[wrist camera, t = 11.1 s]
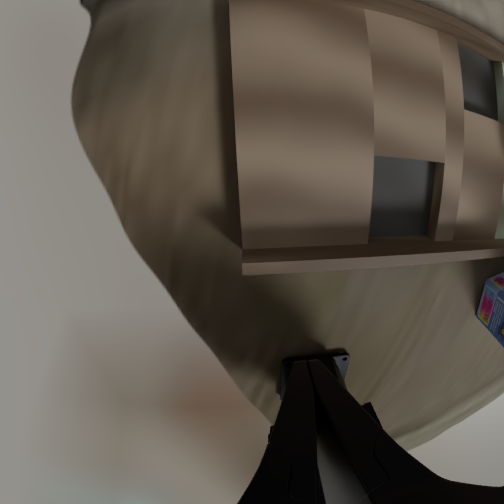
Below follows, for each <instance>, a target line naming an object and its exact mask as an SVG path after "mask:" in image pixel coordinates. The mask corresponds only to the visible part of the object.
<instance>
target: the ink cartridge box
mask: <svg viewBox="0 0 504 504" xmlns="http://www.w3.org/2000/svg"><path fill="white" fill-rule="evenodd" d="M476 317H477V318H478V319H479V320H480V322H481V323H482V324H483V325H484V326H485V327H486V328H487V329H488V330H489V331H490V332H491V334H492V335H493V336H494V337H495V338H496V339H497V340H498V342H499V343H500V344H501V345H502V346H503V347H504V272H502V273H500V274H497V275H495V276H492V277H490V278H488V279H487V280H486V281H485V284H484V289H483V293H482V297H481V300H480V304H479V308H478V311H477V314H476Z"/></svg>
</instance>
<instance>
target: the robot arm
mask: <svg viewBox="0 0 504 504" xmlns="http://www.w3.org/2000/svg"><path fill="white" fill-rule="evenodd" d="M344 357H345V358H344ZM349 360H350V356H349V354H348V353H347V352H344V353H336V354H328V355H318V356H308V357H296V358H285V359H283V360H282V362H281V389H280V399H281V400H282V402H281V405H280V409H279V412H278V415H277V418H276V421H275V424H274V426H271V427H270V434H269V436H268V444H267V447H266V450H265V453H264V455H263V458H262V460H261V463H260V465H259V467H258V469H257V471H256V473H255V475H254V477H253V479H252V480H251V482H250V484H249V485H248V487H247V489H246V490H245V492H244V494H243V495H242V497H241V498H240V500H239V502H238V503H237V504H504V486H502V487H491V486H482V485H473V484H466V483H460V482H455V481H450V480H447V479H444V478H442V477H440V476H438V475H436V474H435V473H433V472H432V471H431V470H429V469H428V468H427V467H425V466H424V465H423V464H422V463H420V462H419V461H418V460H416V459H415V458H414V457H412V456H411V455H410V454H408V453H407V452H406V451H405V450H404V449H403V448H402V447H401V446H399V445H398V444H397V443H396V442H395V441H394V440H393V439H392V438H391V437H390V436H389V435H388V434H387V433H386V432H385V431H384V430H383V428H382V426H381V423H380V421H379V419H378V417H377V415H376V413H375V411H374V409H373V406H372V404H371V402H368V403H365V404H364V405H362V406H361V405H360V404H359V403H358V402H357V401H356V400H355V398H354V397H353V396H352V395H351V394H350V393H349V392H348V391H347V388H346V385H345V381H344V378H345V375H346V371H347V368H348V364H349ZM286 363H287V364H286Z"/></svg>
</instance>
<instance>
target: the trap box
mask: <svg viewBox="0 0 504 504" xmlns="http://www.w3.org/2000/svg"><path fill="white" fill-rule="evenodd" d="M229 15H230V38H231V59H232V79H233V99H234V117H235V135H236V153H237V170H238V186H239V202H240V218H241V233H242V248H243V250H242V275H266V274H286V273H305V272H322V271H339V270H354V269H369V268H383V267H396V266H409V265H421V264H433V263H444V262H455V261H465V260H475V259H485V258H495V257H504V45H503V44H502V43H500V42H498V41H497V40H495V39H494V38H492V37H490V36H489V35H487V34H485V33H484V32H482V31H480V30H478V29H476V28H475V27H473V26H471V25H469V24H467V23H465V22H463V21H461V20H459V19H457V18H455V17H453V16H451V15H448V14H446V13H444V12H442V11H439V10H437V9H435V8H432V7H430V6H427V5H424V4H422V3H419V2H416V1H414V0H229Z"/></svg>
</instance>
